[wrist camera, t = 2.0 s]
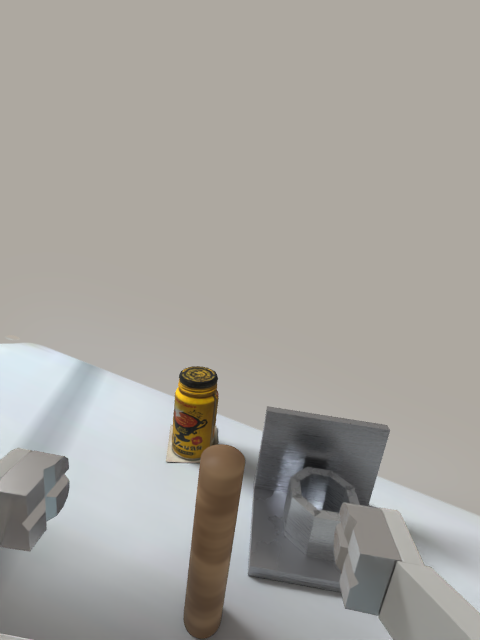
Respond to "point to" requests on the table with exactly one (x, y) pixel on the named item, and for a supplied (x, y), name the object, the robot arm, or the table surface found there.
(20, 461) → the robot arm
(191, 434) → the condiment
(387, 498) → the table surface
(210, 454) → the wooden cylinder rod
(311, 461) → the cup bracket
